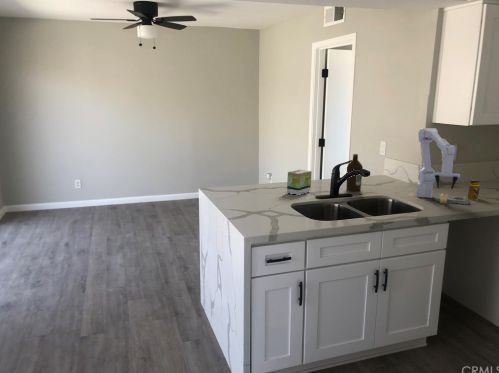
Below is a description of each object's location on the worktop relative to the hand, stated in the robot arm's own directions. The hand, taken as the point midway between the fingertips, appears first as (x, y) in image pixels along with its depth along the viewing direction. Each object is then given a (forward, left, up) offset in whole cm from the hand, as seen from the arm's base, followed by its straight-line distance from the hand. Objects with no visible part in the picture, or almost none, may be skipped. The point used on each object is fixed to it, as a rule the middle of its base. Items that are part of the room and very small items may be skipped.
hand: (444, 188), depth 254 cm
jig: (+5, +9, -9) cm, 14 cm away
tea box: (-88, -8, -10) cm, 89 cm away
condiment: (+17, +23, -10) cm, 30 cm away
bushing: (0, 0, -10) cm, 10 cm away
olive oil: (-56, +16, -10) cm, 59 cm away
